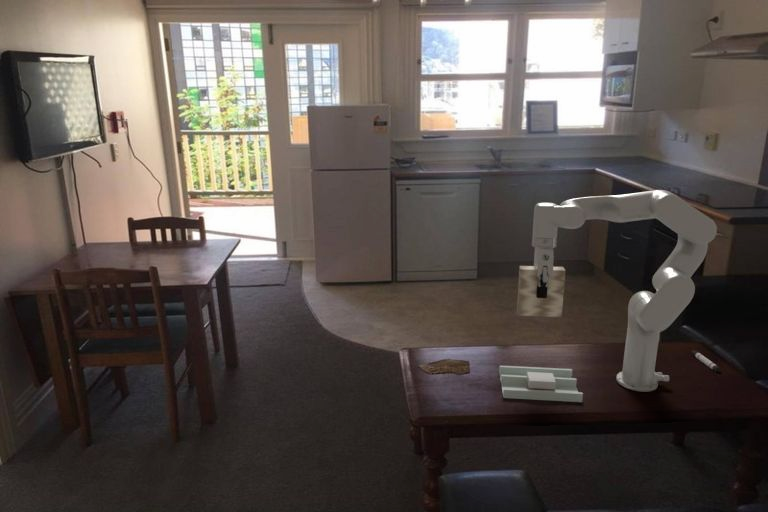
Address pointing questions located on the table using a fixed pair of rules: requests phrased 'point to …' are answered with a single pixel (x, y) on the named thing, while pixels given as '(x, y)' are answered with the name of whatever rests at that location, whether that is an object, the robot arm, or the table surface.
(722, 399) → the table surface
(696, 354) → the marker
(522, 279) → the birch sheet
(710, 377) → the table surface
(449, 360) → the brown ridged slab
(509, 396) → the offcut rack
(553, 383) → the grey offcut
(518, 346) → the table surface
